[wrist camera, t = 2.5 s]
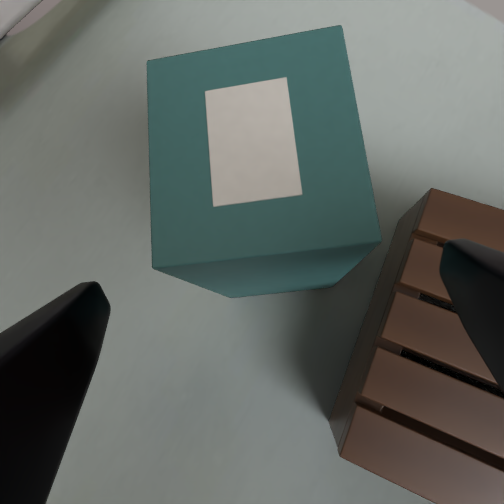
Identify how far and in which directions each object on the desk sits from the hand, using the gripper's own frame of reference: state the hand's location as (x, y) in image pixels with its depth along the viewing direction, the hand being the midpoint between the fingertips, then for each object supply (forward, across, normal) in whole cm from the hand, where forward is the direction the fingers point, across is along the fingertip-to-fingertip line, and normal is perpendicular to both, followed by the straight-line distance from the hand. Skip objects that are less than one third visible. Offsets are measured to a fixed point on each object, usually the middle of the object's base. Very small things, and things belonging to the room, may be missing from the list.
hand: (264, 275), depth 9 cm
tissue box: (+10, 0, +5) cm, 11 cm away
